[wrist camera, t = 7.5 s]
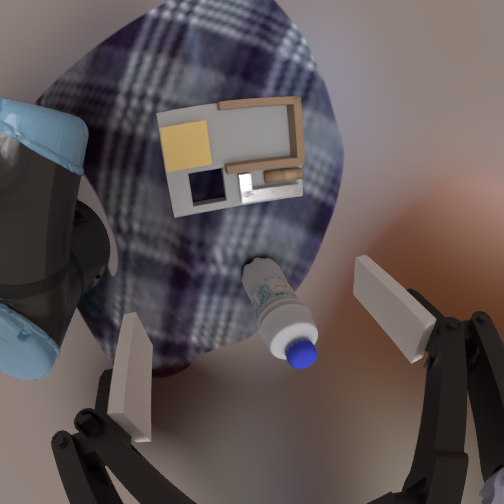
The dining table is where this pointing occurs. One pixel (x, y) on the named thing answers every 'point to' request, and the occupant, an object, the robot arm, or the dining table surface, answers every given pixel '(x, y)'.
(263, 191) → the crook tool
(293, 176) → the dowel
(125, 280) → the dining table surface
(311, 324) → the bottle
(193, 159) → the block
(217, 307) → the dining table surface
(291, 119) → the cubby deck
